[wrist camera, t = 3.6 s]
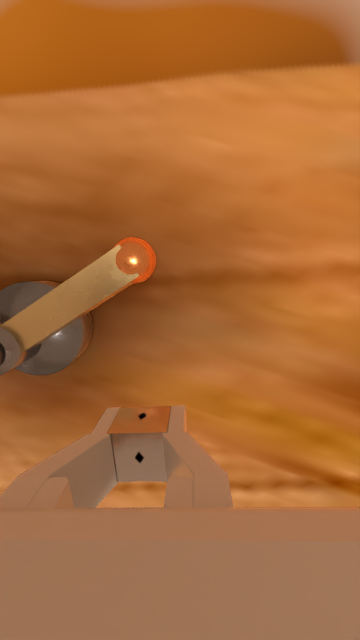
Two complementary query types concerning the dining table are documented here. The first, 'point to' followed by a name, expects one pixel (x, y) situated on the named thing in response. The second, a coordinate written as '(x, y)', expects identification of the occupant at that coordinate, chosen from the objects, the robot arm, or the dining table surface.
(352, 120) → the dining table surface
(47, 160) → the dining table surface
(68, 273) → the dining table surface
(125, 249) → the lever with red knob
